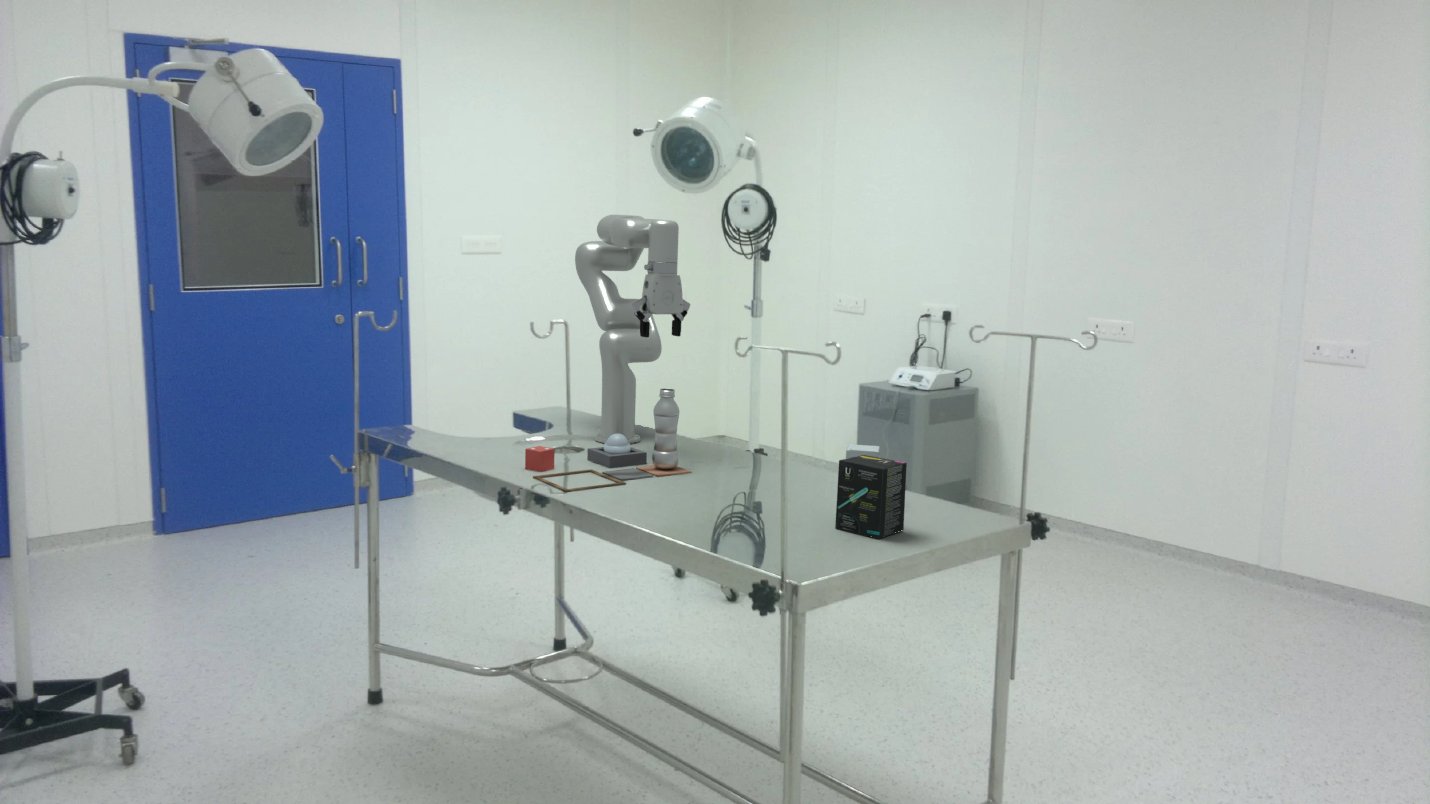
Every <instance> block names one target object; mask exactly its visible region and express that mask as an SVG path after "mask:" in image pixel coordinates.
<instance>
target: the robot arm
mask: <svg viewBox="0 0 1430 804" xmlns="http://www.w3.org/2000/svg"><path fill="white" fill-rule="evenodd" d="M679 228H680V227H679V224H678V222H676V221H675V220H668V219H667V220H666V219H659V218H658V219H656V218H655V219H654V218H644V217H643V216H640V215H628V214H608V215H605V216H604V217H602V218H601V219H600V220H599V221H598V223H597V225H596V233H597V235H598V237H599V239H600V240H592V241H587V242H582V243H581V244H580V245H579V246H578V247H577V248H576V251H575V254H574V265H575V270H576V274H577V276H578V279H579V280H580V282H581V284H582V286H583V287H584V289H585V291H586V293H587V295H588V297H589V302H590V304H591V307H592V311H593V314H594V317H595V320H596V322H597V323H596V324H597V326H598V327H599V329H601V330H602V331H603V333H602V334H601V335H600V338H599V344H598V345H599V354H600V355H599V356H600V362H601V412H600V413H601V415H600V417H601V418H600V419H601V421H600V423H598V424H597V429H599V430H600V433H598V434H595V441H597V442H598V443H603V444H605V443H607V440H608V438H609V437H610V436H611V435H613V434H622V435H624V436H625V437H626V439H627V440H628V443H631V444H635V443H634V442H636V443H638V441H639V440H640V441H641V436H640V435H638V434H636V430H635V429H636V427H635V426H636V403H637V402H636V401H637V400H636V399H637V396H636V395H637V394H636V393H637V379H636V375H635V373H634V372H633V370H632V369H631V367H630V365H629V364H633V363H634V364H635V363H652V362H655V361H657V360H658V359H659V358H660V357H661V354H662V350H663V348H662V341H661V337H660V333H659V330H658V327H657V325H656V322H655V318H654V315H671V316H672V318H673V319H672V320H671V336H673V337H681V335H682V334H681V333H682V322H683V321H684V320H685V319H684V318H685V317H686V316H687V315H688V312H689V309H690V307H691V304H690V302H688V301H686V300H685V299H684V298H683V285H682V279H681V276H680V275H678V264H679V263H678V261H679V260H678V259H679V258H678V257H679V256H678V255H679V234H680V233H679ZM645 249H647V250H648V252H647V264H644V266H643V269H644V270H645V271H647V274H646V273H645V276H644V279H643V286H642V292H641V294H642V295H641V298H624V297H621V295H620V293H619V289H618V286H617V284H616V283H615V282H614V281H613V280H612V279H611V278H610V277H609V276H608V275H606V274H605V273H604V272H629V271H632V270H633V269H634V268H635V266H636V265H637V264H638V261H639V259H640V257H641V256H642V253H643V252H644V250H645ZM603 271H604V272H603ZM640 441H639V442H640Z"/></svg>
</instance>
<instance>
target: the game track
mask: <svg viewBox="0 0 1430 804" xmlns="http://www.w3.org/2000/svg"><path fill="white" fill-rule="evenodd" d="M586 473H591V474H594V475H596V476H599V477H601V478H604V479H607V480H609V481H611V482H613V483H606V484H604V483H603V484H598V485H597V484H596V485H590V486H582V487H581V486H580V487H573V488H565V487H563V486H561V485H559V484H556V483H554V482H552V481H551V480H550V481H549V480H548V479H545V478H553V477H562V476H569V475H577V474H586ZM691 473H692V470H689V469H686V468H684V467H681V466H678V465H677V466H676V468H673V469H660V468H656V467H655V466H654V465H653V464H651V465H643V466H636V467H635V468H634V467H631V468H623V469H622V468H621V469H615V470H607V471H602V472H599V471H597V470H594V469H592V468H591V469H585V470H584V469H583V470H576V471H565V472H559V473H549V474H541V475H533V476H532V479H535V480H536V481H539V482H540V483H543V484H546V485H548V486H550V487H553V488H555V489H557V490H559V491H562V492H564V493H570V492H579V491H586V490H594V489H601V488H609V487H614V486H615V487H616V486H617V487H618V486H625V485H627V482H625V481H633V480H638V479H639V480H640V479H648V478H654V477H657V478H659V477H667V476H668V477H670V476H675V475H676V476H677V475H684V474H691Z"/></svg>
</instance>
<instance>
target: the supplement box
mask: <svg viewBox="0 0 1430 804" xmlns="http://www.w3.org/2000/svg"><path fill="white" fill-rule="evenodd" d="M880 447H881V446H879V445H868V444H867V445H866V444H850V443H849V444H847V448H846V450H845V459H848V458H851V457H857V456H862V455H867V456H873V457H878V458H880V453H881V451H880V449H881V448H880Z"/></svg>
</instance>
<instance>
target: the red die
mask: <svg viewBox="0 0 1430 804" xmlns="http://www.w3.org/2000/svg"><path fill="white" fill-rule="evenodd" d="M524 451H525V454H524V455H525V456H524V457H525V458H524V459H525V463H524V466H525V467H524V469H525V470H528V471H534V472H539V473H542V472H545V471H549V470H553V469H555V448H554V447H547V446H542V445H537V446H532V447H528V448H525V450H524Z"/></svg>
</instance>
